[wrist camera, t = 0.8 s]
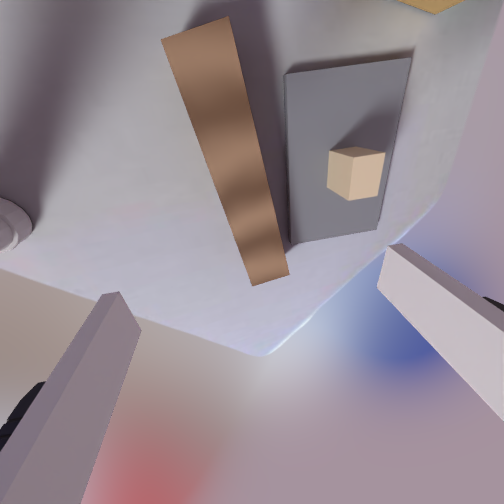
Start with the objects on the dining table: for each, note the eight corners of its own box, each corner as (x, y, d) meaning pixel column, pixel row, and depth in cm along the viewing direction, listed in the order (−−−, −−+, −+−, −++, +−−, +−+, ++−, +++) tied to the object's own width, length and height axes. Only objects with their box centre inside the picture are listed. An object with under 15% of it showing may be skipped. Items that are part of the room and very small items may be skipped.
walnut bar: (171, 55, 19) (160, 39, 15) (226, 36, 19) (228, 15, 15) (248, 266, 32) (252, 286, 28) (280, 256, 32) (289, 274, 28)
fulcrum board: (283, 75, 21) (305, 61, 16) (403, 59, 21) (462, 41, 16) (289, 241, 30) (303, 265, 25) (372, 226, 31) (402, 247, 26)
